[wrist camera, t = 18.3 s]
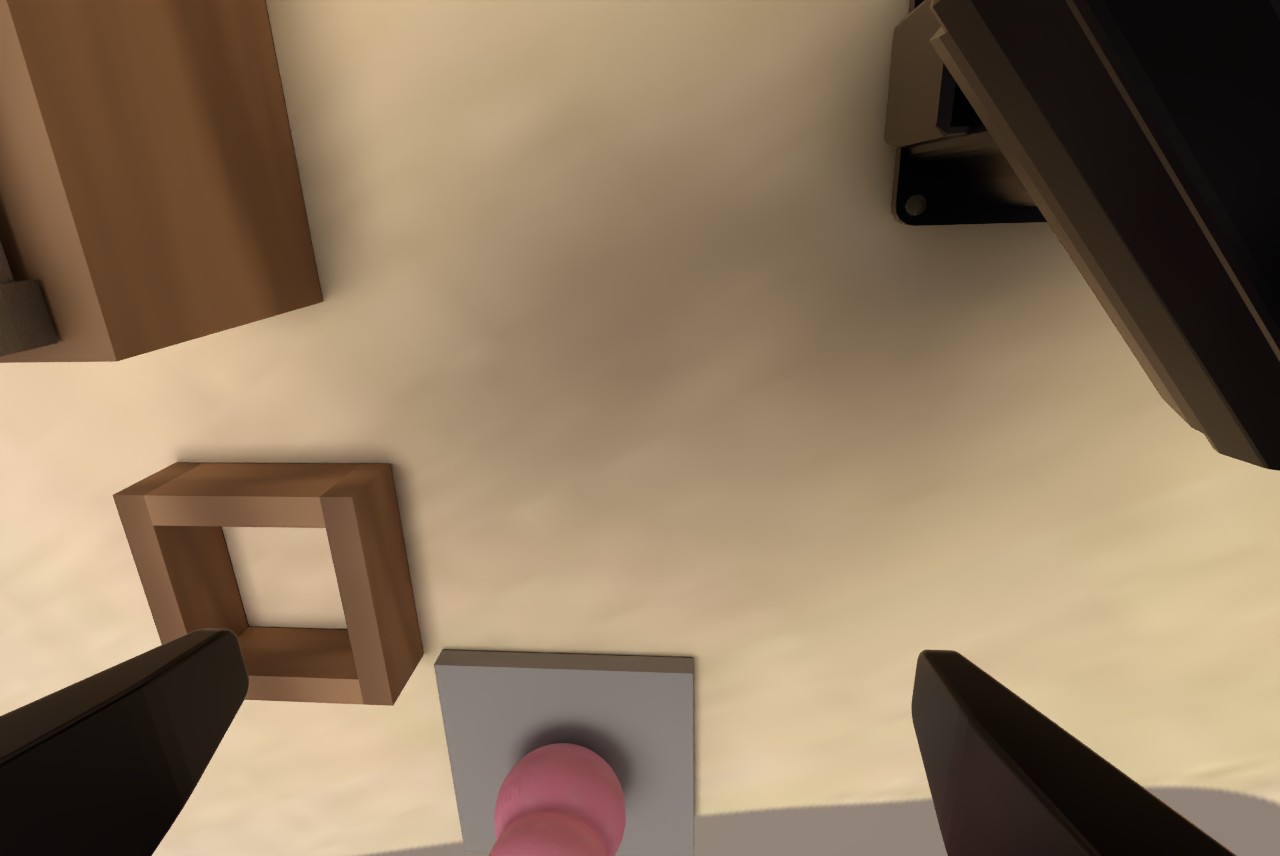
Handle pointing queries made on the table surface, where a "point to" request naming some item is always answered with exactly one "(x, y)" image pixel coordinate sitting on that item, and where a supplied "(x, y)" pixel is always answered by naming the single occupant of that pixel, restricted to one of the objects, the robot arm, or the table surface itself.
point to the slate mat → (574, 734)
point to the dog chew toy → (559, 805)
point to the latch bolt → (22, 313)
